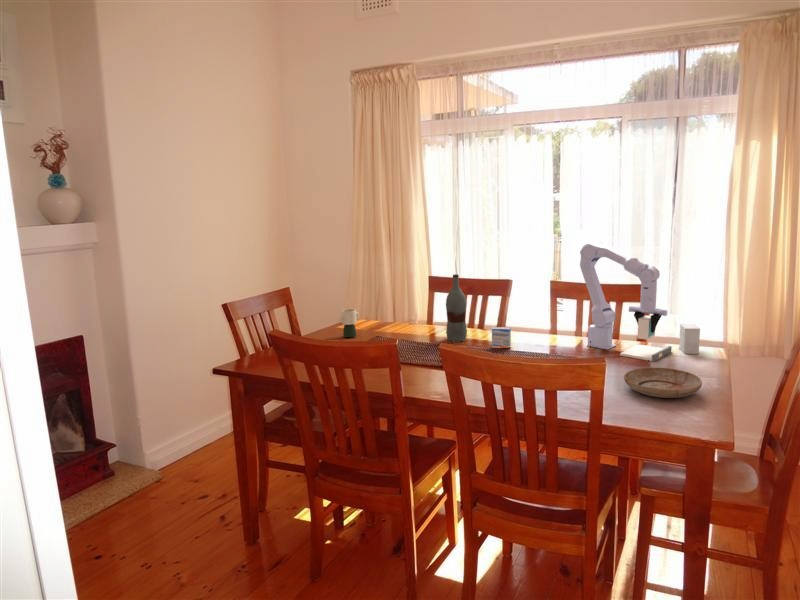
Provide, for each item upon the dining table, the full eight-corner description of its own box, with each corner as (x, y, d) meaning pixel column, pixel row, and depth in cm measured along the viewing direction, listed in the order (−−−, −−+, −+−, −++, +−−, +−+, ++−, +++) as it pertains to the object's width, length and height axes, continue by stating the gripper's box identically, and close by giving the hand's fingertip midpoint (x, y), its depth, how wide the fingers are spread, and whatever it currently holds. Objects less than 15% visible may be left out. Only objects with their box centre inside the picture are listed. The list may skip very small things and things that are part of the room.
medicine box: (491, 348, 257) (491, 328, 256) (492, 345, 261) (492, 326, 260) (510, 349, 255) (510, 329, 254) (510, 346, 259) (510, 326, 258)
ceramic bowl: (624, 378, 214) (625, 364, 213) (698, 383, 205) (698, 369, 204) (622, 400, 192) (623, 385, 192) (704, 407, 184) (705, 392, 183)
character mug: (355, 333, 291) (354, 307, 289) (363, 336, 286) (362, 309, 283) (336, 337, 285) (334, 310, 282) (344, 340, 279) (342, 313, 277)
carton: (637, 338, 239) (638, 318, 237) (644, 334, 244) (645, 315, 242) (648, 339, 236) (649, 320, 235) (655, 336, 241) (656, 316, 239)
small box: (698, 354, 239) (700, 328, 237) (683, 354, 240) (685, 328, 238) (693, 349, 246) (694, 324, 244) (678, 348, 247) (680, 323, 245)
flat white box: (620, 355, 240) (620, 349, 240) (638, 346, 252) (638, 341, 252) (654, 361, 231) (655, 355, 230) (671, 352, 243) (672, 346, 242)
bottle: (444, 342, 270) (442, 276, 264) (449, 337, 279) (447, 273, 273) (464, 343, 267) (463, 276, 261) (468, 338, 276) (468, 273, 270)
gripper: (626, 297, 239) (624, 330, 242) (663, 301, 229) (661, 335, 232) (633, 294, 244) (632, 327, 247) (670, 298, 234) (668, 332, 237)
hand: (646, 331), depth 240 cm, fingers closed on carton, 4 cm apart
